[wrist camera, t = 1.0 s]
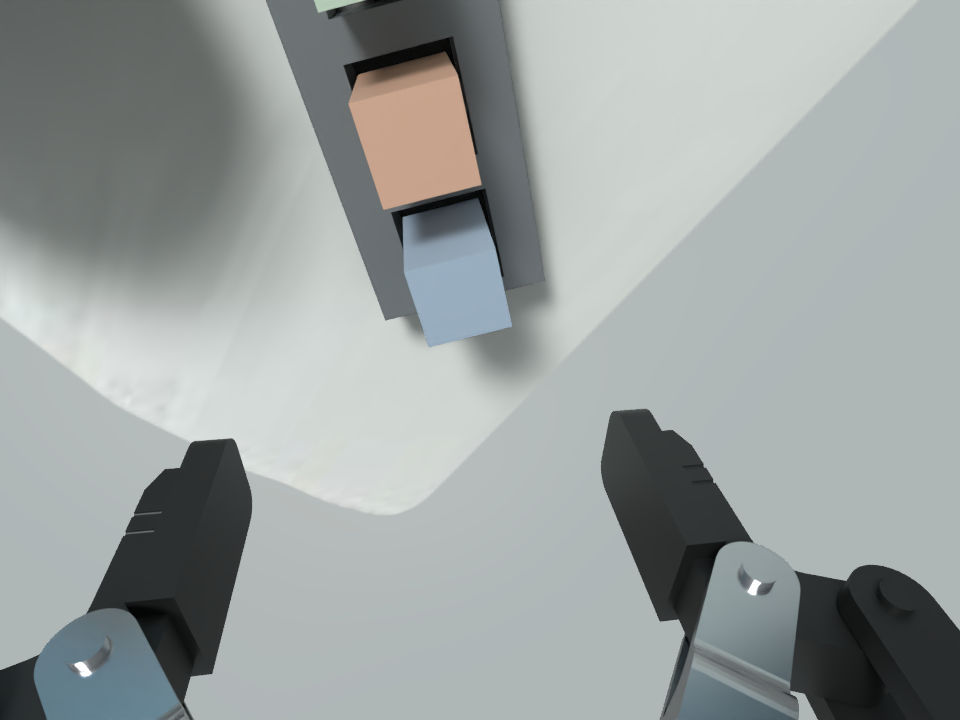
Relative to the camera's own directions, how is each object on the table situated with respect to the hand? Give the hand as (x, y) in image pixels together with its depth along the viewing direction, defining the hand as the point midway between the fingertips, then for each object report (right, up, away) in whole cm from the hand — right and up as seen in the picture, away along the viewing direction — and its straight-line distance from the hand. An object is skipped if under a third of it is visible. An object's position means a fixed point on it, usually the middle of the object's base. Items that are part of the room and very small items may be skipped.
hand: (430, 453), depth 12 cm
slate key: (-1, +9, +21) cm, 23 cm away
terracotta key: (-2, +15, +17) cm, 22 cm away
